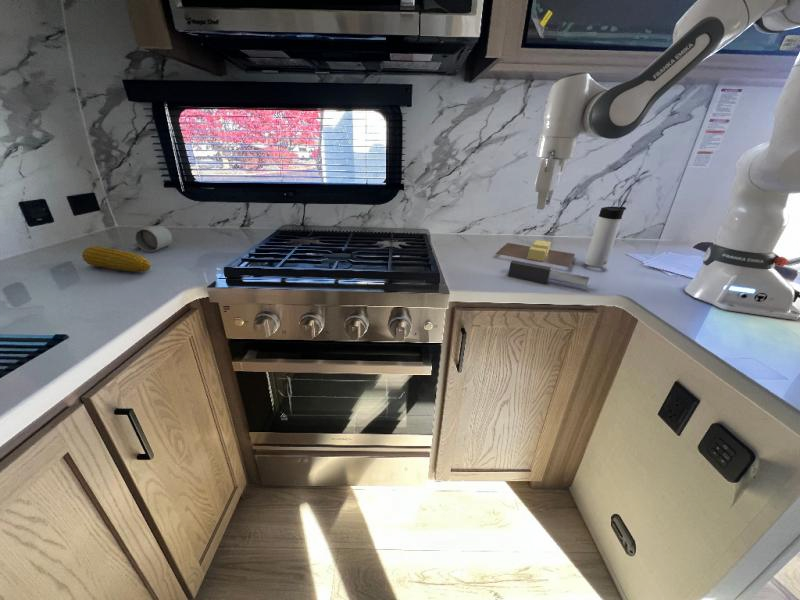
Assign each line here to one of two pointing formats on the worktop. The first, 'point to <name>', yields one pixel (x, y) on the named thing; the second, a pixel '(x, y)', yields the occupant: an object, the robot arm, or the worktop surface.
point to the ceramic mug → (153, 238)
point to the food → (115, 259)
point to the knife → (546, 275)
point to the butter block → (542, 245)
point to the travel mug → (604, 236)
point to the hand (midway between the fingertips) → (543, 206)
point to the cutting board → (550, 258)
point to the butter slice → (537, 254)
